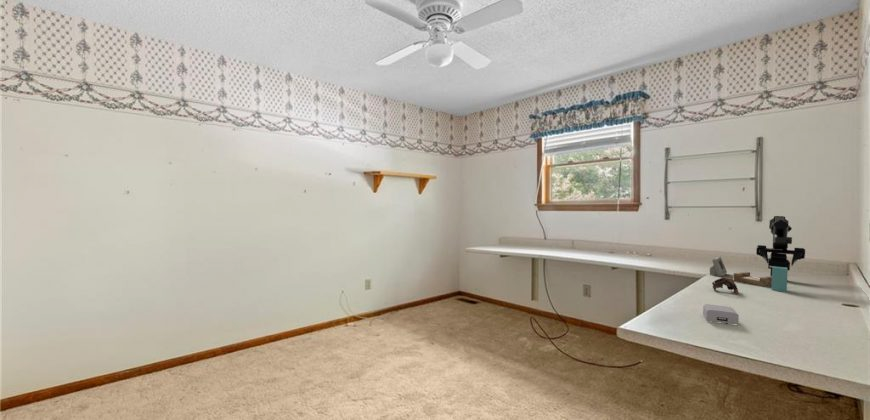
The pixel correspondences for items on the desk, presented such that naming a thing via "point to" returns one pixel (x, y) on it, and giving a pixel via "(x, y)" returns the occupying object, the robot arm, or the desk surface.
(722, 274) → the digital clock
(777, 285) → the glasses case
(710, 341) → the desk surface
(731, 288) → the brown curved arch
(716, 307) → the charger
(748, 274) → the display stand
